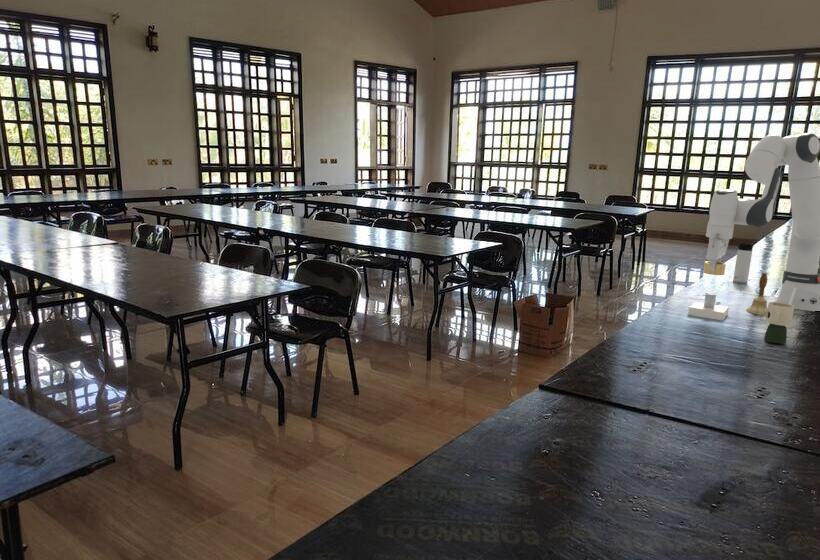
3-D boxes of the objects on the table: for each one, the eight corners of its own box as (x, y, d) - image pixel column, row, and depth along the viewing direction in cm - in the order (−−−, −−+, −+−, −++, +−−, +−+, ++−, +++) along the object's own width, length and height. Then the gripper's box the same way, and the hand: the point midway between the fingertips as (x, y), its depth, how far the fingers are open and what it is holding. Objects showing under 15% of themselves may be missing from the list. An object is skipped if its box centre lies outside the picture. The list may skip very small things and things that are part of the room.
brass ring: (725, 273, 221) (727, 263, 220) (722, 275, 215) (724, 265, 214) (705, 270, 225) (706, 260, 224) (701, 273, 219) (703, 262, 218)
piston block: (727, 314, 224) (730, 294, 223) (722, 320, 215) (725, 299, 213) (694, 308, 231) (696, 289, 230) (687, 314, 222) (690, 294, 220)
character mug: (764, 336, 196) (771, 299, 193) (789, 341, 191) (796, 303, 189) (759, 344, 188) (765, 305, 185) (784, 349, 183) (792, 309, 180)
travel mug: (734, 283, 285) (740, 243, 281) (731, 281, 291) (737, 241, 287) (748, 284, 284) (755, 244, 279) (745, 282, 290) (751, 242, 286)
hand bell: (773, 315, 225) (780, 275, 221) (750, 314, 226) (757, 274, 223) (765, 310, 233) (771, 271, 229) (743, 308, 234) (749, 270, 231)
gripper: (724, 236, 207) (718, 274, 209) (733, 231, 223) (727, 266, 226) (705, 234, 210) (699, 271, 213) (714, 230, 226) (709, 264, 229)
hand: (714, 269), depth 220 cm, fingers closed on brass ring, 7 cm apart
